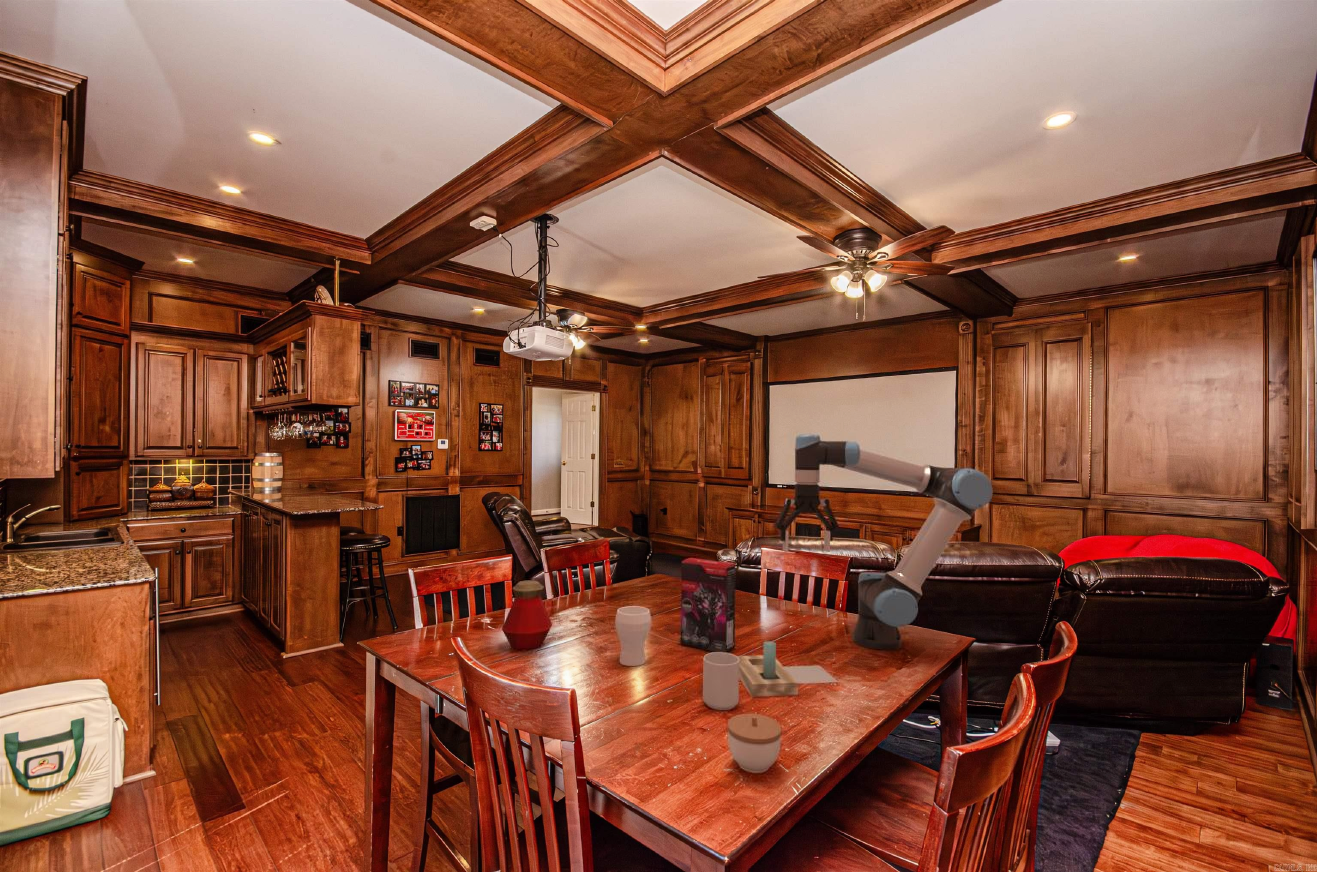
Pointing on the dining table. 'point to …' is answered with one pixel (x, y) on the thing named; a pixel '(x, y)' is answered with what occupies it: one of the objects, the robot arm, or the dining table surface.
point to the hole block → (758, 686)
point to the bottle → (527, 617)
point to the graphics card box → (708, 605)
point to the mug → (721, 680)
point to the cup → (632, 633)
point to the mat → (810, 674)
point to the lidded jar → (754, 741)
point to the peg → (769, 660)
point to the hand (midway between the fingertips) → (806, 551)
